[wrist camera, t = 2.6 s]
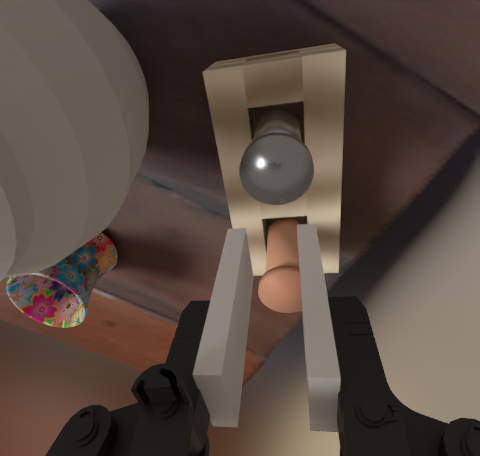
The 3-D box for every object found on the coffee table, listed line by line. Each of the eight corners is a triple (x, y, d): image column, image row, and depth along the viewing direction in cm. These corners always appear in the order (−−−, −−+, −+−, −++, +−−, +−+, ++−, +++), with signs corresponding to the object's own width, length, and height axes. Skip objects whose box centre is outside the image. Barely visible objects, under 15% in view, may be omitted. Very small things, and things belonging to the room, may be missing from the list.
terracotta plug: (260, 215, 33) (255, 273, 26) (308, 212, 32) (315, 270, 25) (265, 251, 35) (261, 313, 28) (309, 249, 35) (316, 312, 27)
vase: (204, -12, 27) (-17, -74, 7) (179, 186, 38) (68, 378, 18) (-25, -75, 26) (-1000, -344, 6) (19, 146, 37) (-281, 301, 17)
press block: (215, 61, 30) (202, 71, 25) (334, 43, 28) (346, 50, 23) (246, 245, 42) (241, 276, 37) (331, 240, 40) (338, 272, 35)
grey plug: (246, 105, 27) (234, 140, 19) (304, 98, 26) (313, 132, 19) (253, 159, 29) (244, 207, 22) (306, 153, 28) (314, 202, 21)
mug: (130, 238, 44) (93, 294, 35) (114, 279, 49) (78, 337, 40) (44, 198, 41) (-19, 248, 33) (36, 246, 46) (-20, 300, 38)
